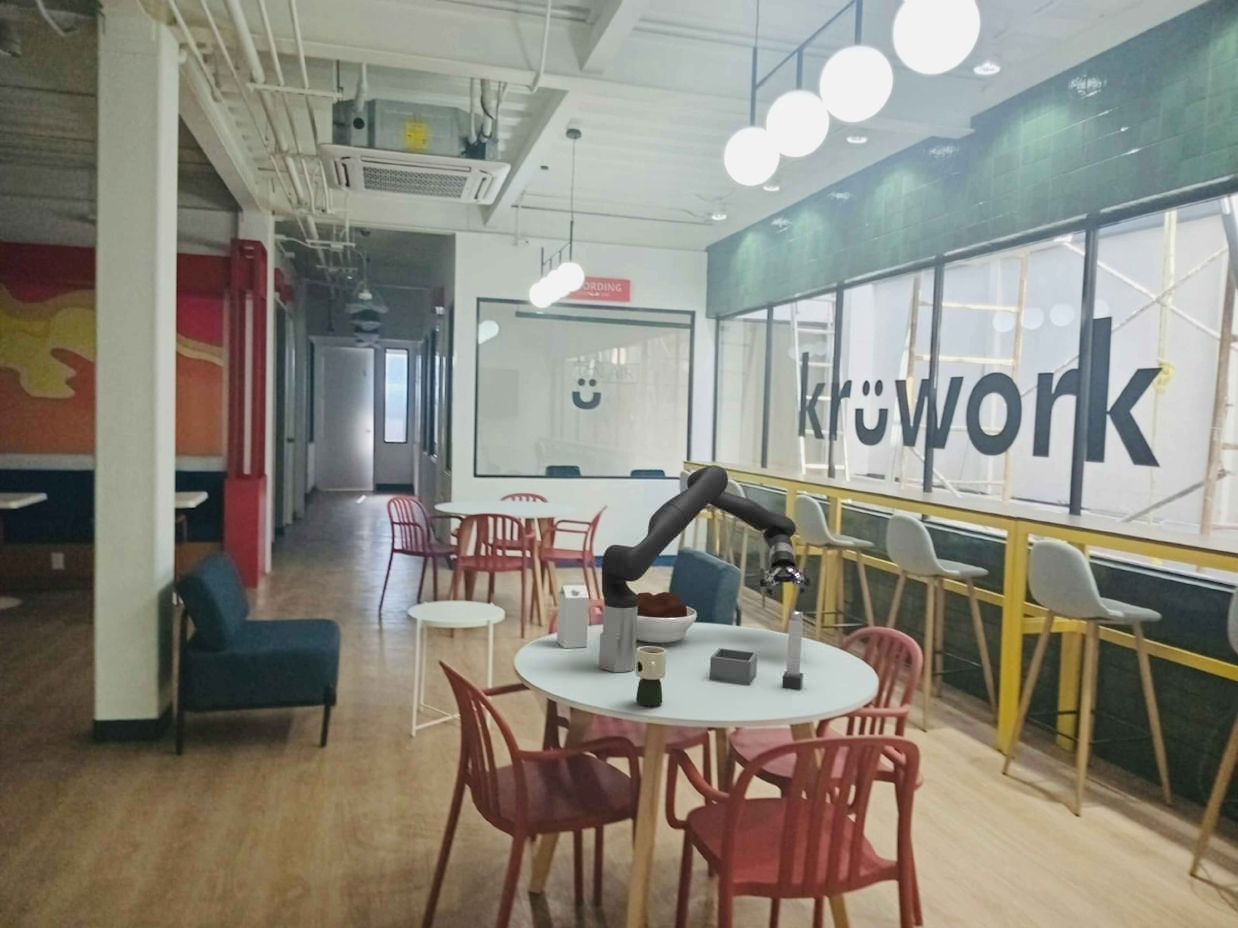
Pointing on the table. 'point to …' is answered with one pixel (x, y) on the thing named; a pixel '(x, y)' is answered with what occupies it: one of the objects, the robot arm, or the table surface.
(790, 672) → the brushed steel column
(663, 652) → the character mug
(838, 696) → the table surface
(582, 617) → the milk carton
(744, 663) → the holder
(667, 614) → the bowl of brownies
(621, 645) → the robot arm
